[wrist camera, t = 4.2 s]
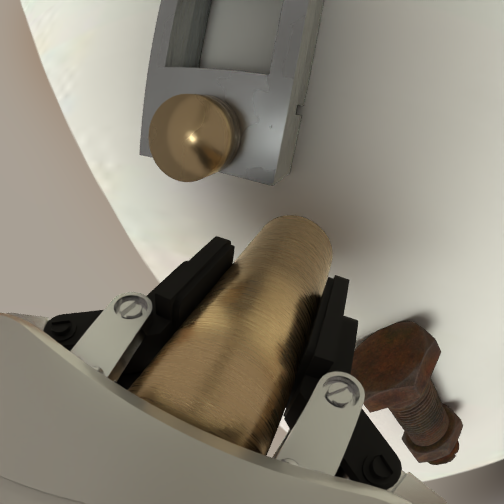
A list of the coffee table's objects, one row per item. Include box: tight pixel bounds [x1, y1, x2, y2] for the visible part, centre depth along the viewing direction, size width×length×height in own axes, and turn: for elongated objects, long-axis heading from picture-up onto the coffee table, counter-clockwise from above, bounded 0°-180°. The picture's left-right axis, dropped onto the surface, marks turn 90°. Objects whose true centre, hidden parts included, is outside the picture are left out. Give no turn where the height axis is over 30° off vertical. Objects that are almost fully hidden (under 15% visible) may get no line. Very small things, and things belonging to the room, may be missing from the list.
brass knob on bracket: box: [140, 0, 324, 186], centre depth 10 cm, size 14×7×4 cm, turn 170°
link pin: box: [128, 215, 332, 456], centre depth 8 cm, size 4×4×13 cm
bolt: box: [351, 321, 463, 465], centre depth 16 cm, size 6×5×15 cm
